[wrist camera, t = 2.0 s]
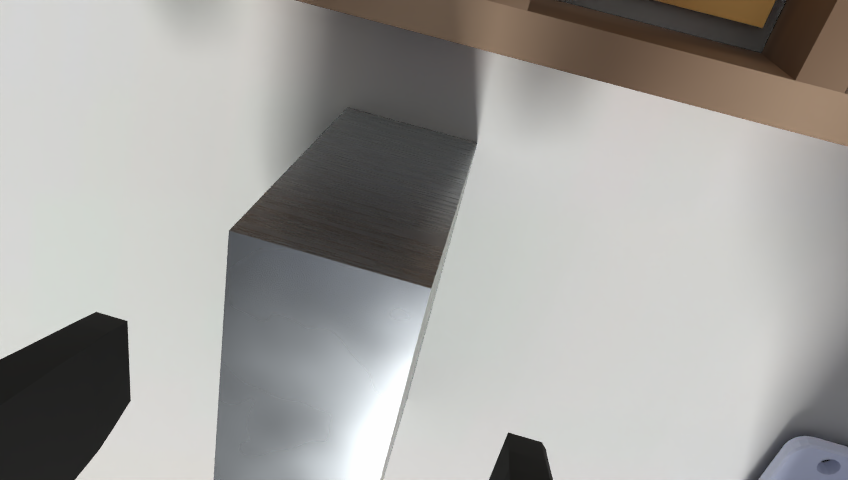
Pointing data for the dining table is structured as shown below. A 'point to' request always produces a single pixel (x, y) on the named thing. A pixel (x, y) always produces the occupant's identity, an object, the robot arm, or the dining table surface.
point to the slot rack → (660, 52)
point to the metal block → (334, 300)
